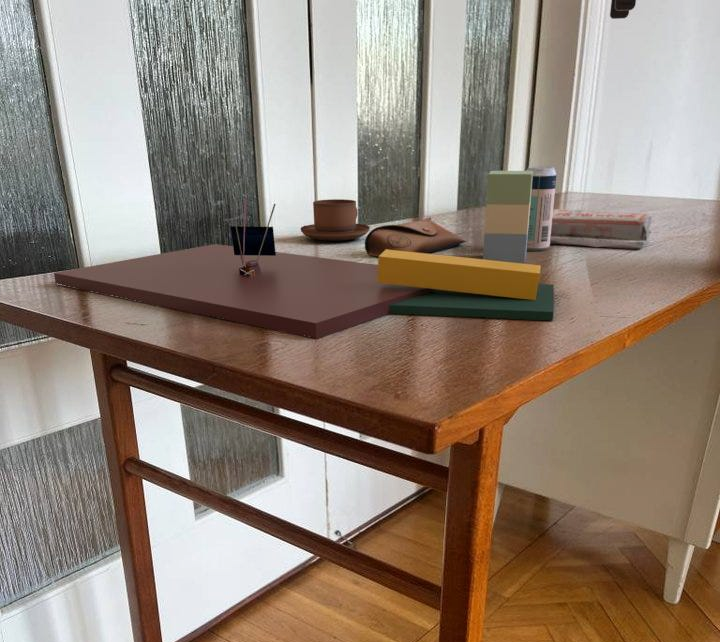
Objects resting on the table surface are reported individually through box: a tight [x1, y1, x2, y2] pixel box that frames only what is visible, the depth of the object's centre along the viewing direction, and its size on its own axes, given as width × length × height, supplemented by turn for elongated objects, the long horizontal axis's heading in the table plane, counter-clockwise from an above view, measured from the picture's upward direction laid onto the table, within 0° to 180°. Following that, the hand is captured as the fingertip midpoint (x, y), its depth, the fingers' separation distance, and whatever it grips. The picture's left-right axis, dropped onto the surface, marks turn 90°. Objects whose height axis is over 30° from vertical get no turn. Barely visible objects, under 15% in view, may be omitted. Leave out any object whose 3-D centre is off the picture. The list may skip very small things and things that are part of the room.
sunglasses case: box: [364, 216, 467, 258], centre depth 120 cm, size 18×7×7 cm
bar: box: [377, 249, 542, 300], centre depth 86 cm, size 18×4×3 cm, turn 77°
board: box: [53, 198, 437, 339], centre depth 94 cm, size 45×28×10 cm, turn 52°
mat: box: [389, 283, 555, 321], centre depth 87 cm, size 22×14×1 cm, turn 77°
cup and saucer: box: [300, 198, 371, 242], centre depth 130 cm, size 12×12×6 cm
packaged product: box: [550, 208, 652, 250], centre depth 124 cm, size 18×5×10 cm
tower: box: [482, 170, 533, 264], centre depth 109 cm, size 6×6×12 cm
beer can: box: [525, 166, 557, 252], centre depth 117 cm, size 5×5×12 cm
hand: (621, 14), depth 90 cm, fingers open, 8 cm apart
